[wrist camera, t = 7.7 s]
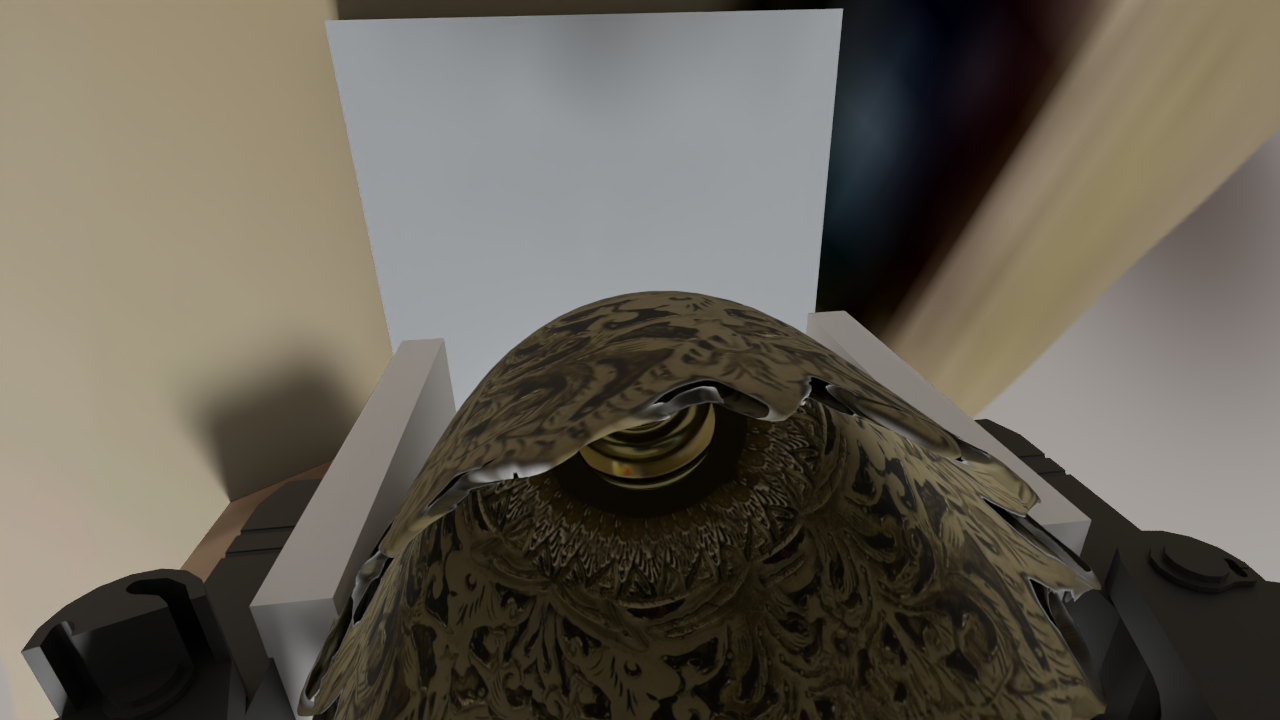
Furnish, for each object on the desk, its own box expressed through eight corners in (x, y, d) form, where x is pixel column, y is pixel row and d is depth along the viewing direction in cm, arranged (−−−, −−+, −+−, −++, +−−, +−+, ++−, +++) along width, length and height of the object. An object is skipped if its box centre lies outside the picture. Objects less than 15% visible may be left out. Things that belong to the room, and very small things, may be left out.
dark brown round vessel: (593, 115, 11) (641, 198, 4) (887, 341, 13) (1269, 665, 6) (381, 433, 13) (141, 893, 6) (667, 580, 15) (756, 1040, 8)
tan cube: (231, 501, 24) (154, 603, 19) (352, 450, 23) (303, 541, 19) (311, 592, 26) (258, 703, 21) (422, 546, 26) (393, 649, 21)
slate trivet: (338, 23, 18) (323, 20, 17) (826, 11, 19) (843, 8, 18) (423, 451, 24) (416, 470, 23) (792, 420, 25) (803, 436, 24)
